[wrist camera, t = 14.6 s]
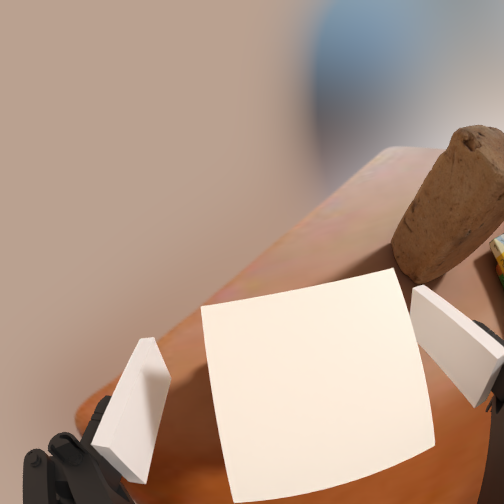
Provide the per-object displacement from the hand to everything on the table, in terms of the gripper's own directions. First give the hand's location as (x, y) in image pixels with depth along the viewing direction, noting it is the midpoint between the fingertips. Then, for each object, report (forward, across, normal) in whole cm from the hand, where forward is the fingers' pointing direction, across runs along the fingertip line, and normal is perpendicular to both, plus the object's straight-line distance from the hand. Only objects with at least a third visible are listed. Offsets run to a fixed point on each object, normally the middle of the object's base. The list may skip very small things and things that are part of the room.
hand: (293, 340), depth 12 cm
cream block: (+3, 0, +6) cm, 7 cm away
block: (+18, -21, +6) cm, 28 cm away
